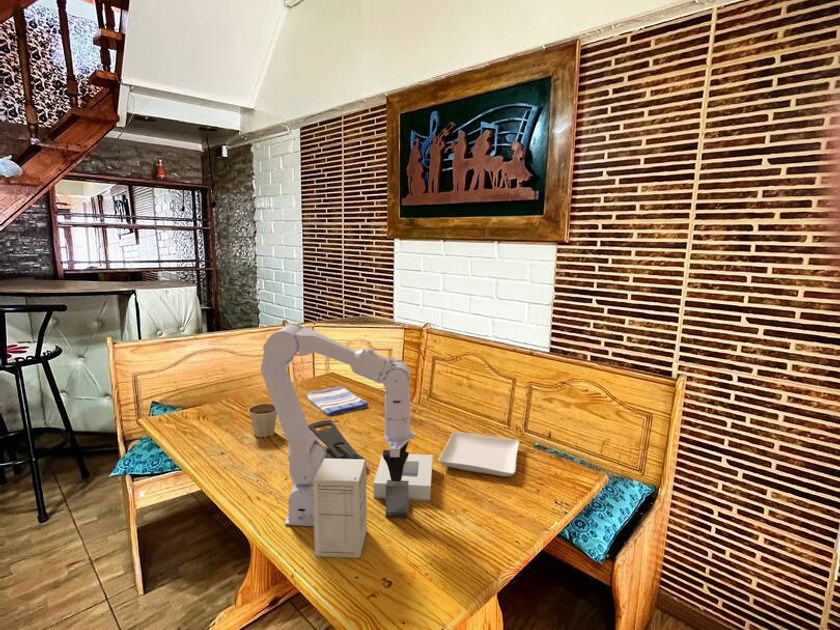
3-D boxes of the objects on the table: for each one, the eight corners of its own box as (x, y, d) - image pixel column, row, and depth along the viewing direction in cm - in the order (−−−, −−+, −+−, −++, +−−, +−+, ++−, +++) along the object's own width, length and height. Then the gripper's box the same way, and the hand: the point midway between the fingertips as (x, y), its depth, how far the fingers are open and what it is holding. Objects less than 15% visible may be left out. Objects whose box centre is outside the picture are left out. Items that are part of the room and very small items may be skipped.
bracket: (407, 518, 103) (407, 486, 102) (385, 517, 103) (385, 485, 102) (409, 503, 109) (409, 473, 108) (388, 502, 109) (389, 472, 108)
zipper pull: (331, 418, 143) (370, 448, 123) (332, 437, 144) (370, 470, 124) (305, 424, 138) (341, 456, 118) (305, 444, 139) (341, 479, 119)
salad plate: (519, 449, 139) (519, 439, 139) (514, 484, 119) (515, 472, 119) (452, 440, 145) (452, 430, 144) (436, 472, 125) (437, 460, 124)
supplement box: (367, 529, 99) (368, 458, 96) (360, 559, 90) (360, 481, 87) (324, 527, 99) (323, 456, 96) (313, 557, 90) (311, 479, 87)
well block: (430, 501, 110) (430, 486, 109) (373, 498, 111) (373, 483, 110) (432, 468, 126) (432, 455, 125) (382, 466, 127) (382, 452, 126)
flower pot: (280, 437, 143) (280, 412, 142) (249, 442, 140) (248, 415, 138) (278, 426, 152) (277, 402, 150) (248, 430, 148) (247, 405, 147)
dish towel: (344, 391, 190) (344, 384, 189) (370, 408, 171) (370, 401, 170) (304, 398, 180) (304, 391, 180) (327, 418, 161) (326, 410, 160)
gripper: (413, 429, 93) (413, 489, 96) (416, 404, 108) (416, 457, 110) (379, 428, 94) (380, 488, 96) (387, 403, 108) (388, 456, 110)
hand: (397, 471), depth 103 cm, fingers open, 7 cm apart
